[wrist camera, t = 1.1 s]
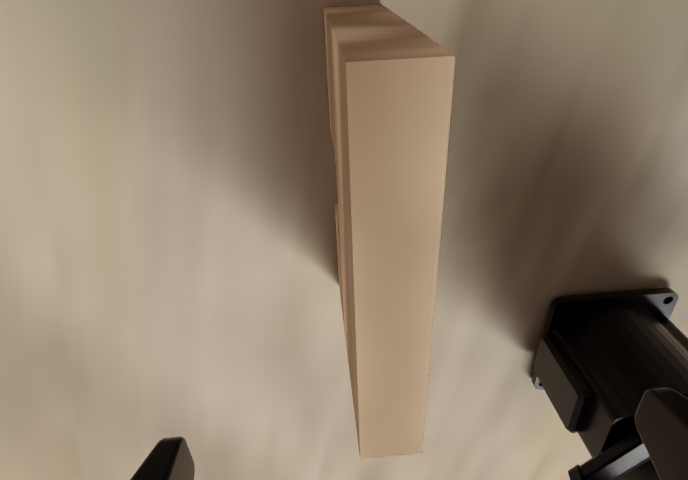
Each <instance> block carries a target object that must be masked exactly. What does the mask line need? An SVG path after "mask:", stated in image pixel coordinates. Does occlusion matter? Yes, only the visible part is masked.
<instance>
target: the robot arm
mask: <svg viewBox="0 0 688 480" xmlns="http://www.w3.org/2000/svg"><path fill="white" fill-rule="evenodd" d="M677 300H678V295H677V294H676V293H675V292H674V291H673V290H672V289H670V288H659V289H647V290H636V291H624V292H613V293H601V294H589V295H578V296H566V297H559V298H557V299H555V300H554V301H553V302H552V303H551V305H550V309H549V313H548V317H547V321H546V325H545V329H544V332H543V335H542V337H541V338H540V342H539V346H538V350H537V354H536V358H535V362H534V366H533V370H534V372H533V376H532V382H533V384H534V386H535V388H537V389H544V390H545V391H546V393H547V395H548V397H549V399H550V400H551V402H552V404H553V406H554V408H555V409H556V411H557V413H558V415H559V417H560V418H561V420H562V422H563V424H564V426H565V427H566V429H567V430H569V431H570V432H571V433H576V432H578V434H579V435H580V437H581V439H582V441H583V442H584V444H585V446H586V448H587V449H588V451H589V453H590V454H591V456H592V458H591V459H590V460H588V461H587V462H585V463H584V464H582V465H581V466H579V465H576V466H575V467H573V468H572V469H570V470H569V471H568V473H569V477H570V480H688V338H687V337H686V336H685V335H684V334H683V333H682V332H681V331H680V330H679V329H678V328H677V327H676V326H675V325H674V324H673V323H672V322H671V321H670V320H669V318H670V316H671V313H672V311H673V309H674V307H675V304H676V302H677ZM562 306H563V307H562ZM561 307H562V308H561ZM130 480H194V462H193V459H192V456H191V453H190V451H189V448H188V446H187V443H186V441H185V439H184V438H183V437H172V438H164V439H162V440H160V441H159V442H158V443H157V445H156V446H155V447H154V449H153V450H152V451H151V453H150V454H149V455H148V457H147V458H146V459H145V461H144V462H143V463H142V465H141V466H140V467H139V469H138V470H137V471H136V473H135V474H134V475H133V477H132V478H131V479H130Z"/></svg>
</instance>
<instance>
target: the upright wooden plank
mask: <svg viewBox="0 0 688 480" xmlns="http://www.w3.org/2000/svg"><path fill="white" fill-rule="evenodd" d="M323 13H324V30H325V47H326V65H327V82H328V99H329V117H330V133H331V138H332V144H333V150H334V156H335V161H336V180H337V198H338V204H335V221H336V238H337V256H338V273H339V288H340V296H341V304H342V313H343V321H344V329H345V337H346V346H347V354H348V362H349V370H350V379H351V387H352V395H353V403H354V412H355V420H356V428H357V436H358V445H359V453H360V459H368V458H378V457H388V456H397V455H407V454H417V453H423V442H424V430H425V418H426V406H427V394H428V382H429V370H430V358H431V346H432V334H433V322H434V310H435V298H436V286H437V274H438V261H439V249H440V237H441V225H442V213H443V201H444V189H445V177H446V165H447V153H448V141H449V129H450V117H451V105H452V93H453V80H454V68H455V55H454V54H452V53H451V52H449V51H448V50H446V49H445V48H444V47H442V46H441V45H439V44H438V43H436V42H435V41H433V40H432V39H431V38H429V37H428V36H426V35H425V34H423V33H422V32H420V31H419V30H418V29H416V28H415V27H413V26H412V25H410V24H409V23H407V22H406V21H405V20H403V19H402V18H400V17H399V16H397V15H396V14H394V13H393V12H392V11H390V10H389V9H387V8H386V7H384V6H383V5H381V4H378V5H360V6H341V7H323Z"/></svg>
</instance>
